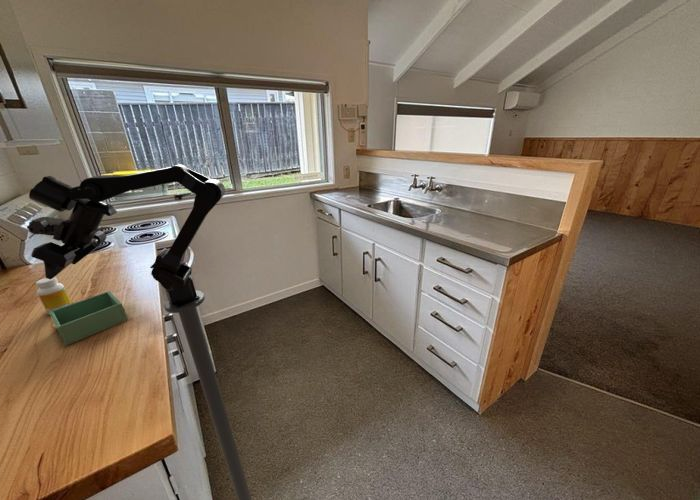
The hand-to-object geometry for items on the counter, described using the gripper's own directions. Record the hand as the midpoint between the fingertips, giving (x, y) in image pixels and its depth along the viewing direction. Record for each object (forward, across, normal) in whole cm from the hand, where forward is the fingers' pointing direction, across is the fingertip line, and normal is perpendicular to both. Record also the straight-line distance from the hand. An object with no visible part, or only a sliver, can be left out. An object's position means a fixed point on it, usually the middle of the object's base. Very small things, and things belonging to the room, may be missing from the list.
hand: (61, 270), depth 74 cm
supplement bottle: (+15, -4, +2) cm, 16 cm away
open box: (+7, +7, +13) cm, 16 cm away
